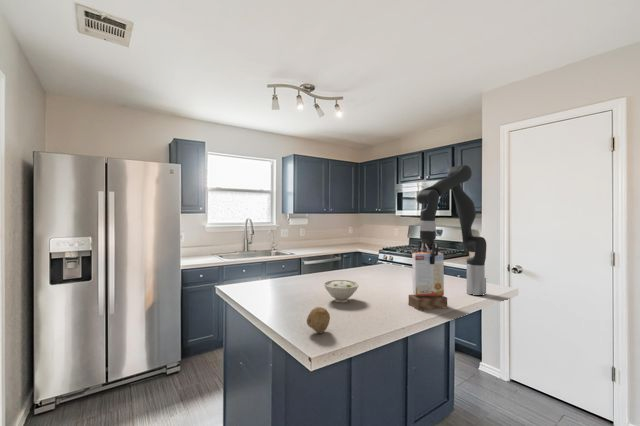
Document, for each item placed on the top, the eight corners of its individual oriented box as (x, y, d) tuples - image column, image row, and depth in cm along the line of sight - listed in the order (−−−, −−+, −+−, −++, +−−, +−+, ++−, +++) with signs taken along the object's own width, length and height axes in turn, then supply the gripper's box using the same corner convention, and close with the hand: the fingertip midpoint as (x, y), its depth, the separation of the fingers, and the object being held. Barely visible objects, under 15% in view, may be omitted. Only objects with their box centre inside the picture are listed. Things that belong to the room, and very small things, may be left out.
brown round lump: (304, 336, 112) (304, 310, 112) (309, 327, 121) (309, 303, 121) (328, 338, 111) (328, 311, 111) (331, 329, 120) (331, 304, 120)
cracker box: (439, 292, 152) (439, 251, 152) (444, 296, 146) (444, 253, 146) (411, 292, 152) (411, 251, 152) (415, 295, 146) (415, 253, 146)
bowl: (358, 295, 168) (358, 278, 168) (359, 306, 149) (360, 286, 149) (324, 294, 170) (324, 277, 170) (321, 305, 151) (321, 285, 151)
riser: (436, 302, 156) (436, 292, 156) (447, 307, 147) (447, 297, 147) (408, 304, 152) (408, 294, 152) (418, 310, 143) (418, 299, 143)
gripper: (413, 229, 155) (413, 261, 155) (429, 230, 141) (429, 265, 141) (425, 228, 157) (426, 260, 157) (443, 230, 143) (443, 265, 143)
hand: (427, 262), depth 149 cm, fingers closed on cracker box, 6 cm apart
